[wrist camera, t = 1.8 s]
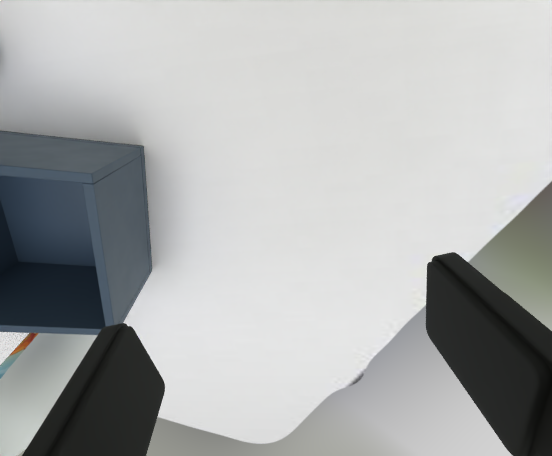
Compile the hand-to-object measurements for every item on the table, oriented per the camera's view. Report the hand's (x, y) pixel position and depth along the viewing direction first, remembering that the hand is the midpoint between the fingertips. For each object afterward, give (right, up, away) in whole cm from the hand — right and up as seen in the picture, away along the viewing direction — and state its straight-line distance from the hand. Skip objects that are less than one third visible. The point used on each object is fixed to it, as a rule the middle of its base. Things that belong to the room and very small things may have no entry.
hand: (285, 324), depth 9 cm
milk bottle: (-28, -11, +31) cm, 43 cm away
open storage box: (-23, +5, +24) cm, 33 cm away
